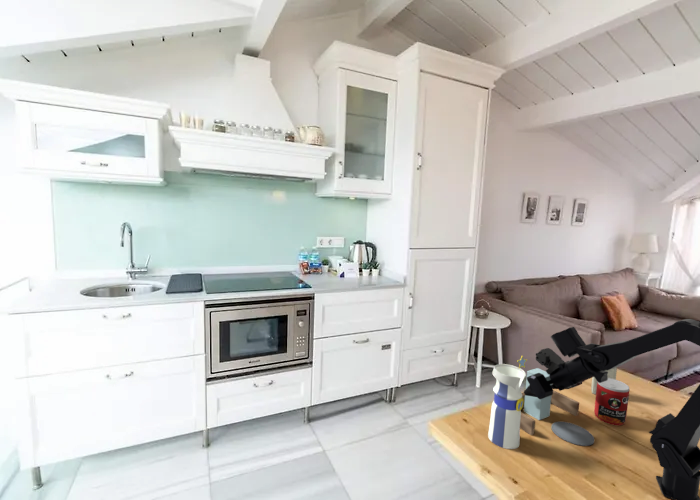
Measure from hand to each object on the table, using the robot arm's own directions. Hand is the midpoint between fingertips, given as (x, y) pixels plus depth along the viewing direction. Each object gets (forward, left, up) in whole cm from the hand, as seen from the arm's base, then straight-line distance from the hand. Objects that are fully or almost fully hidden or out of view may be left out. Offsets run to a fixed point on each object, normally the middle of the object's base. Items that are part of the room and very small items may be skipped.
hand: (534, 390), depth 104 cm
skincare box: (+26, -20, -7) cm, 33 cm away
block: (-1, -1, -7) cm, 7 cm away
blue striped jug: (-19, +6, -7) cm, 21 cm away
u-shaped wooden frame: (-1, -2, -7) cm, 7 cm away
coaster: (-6, -10, -7) cm, 14 cm away
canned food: (+9, -20, -7) cm, 23 cm away
